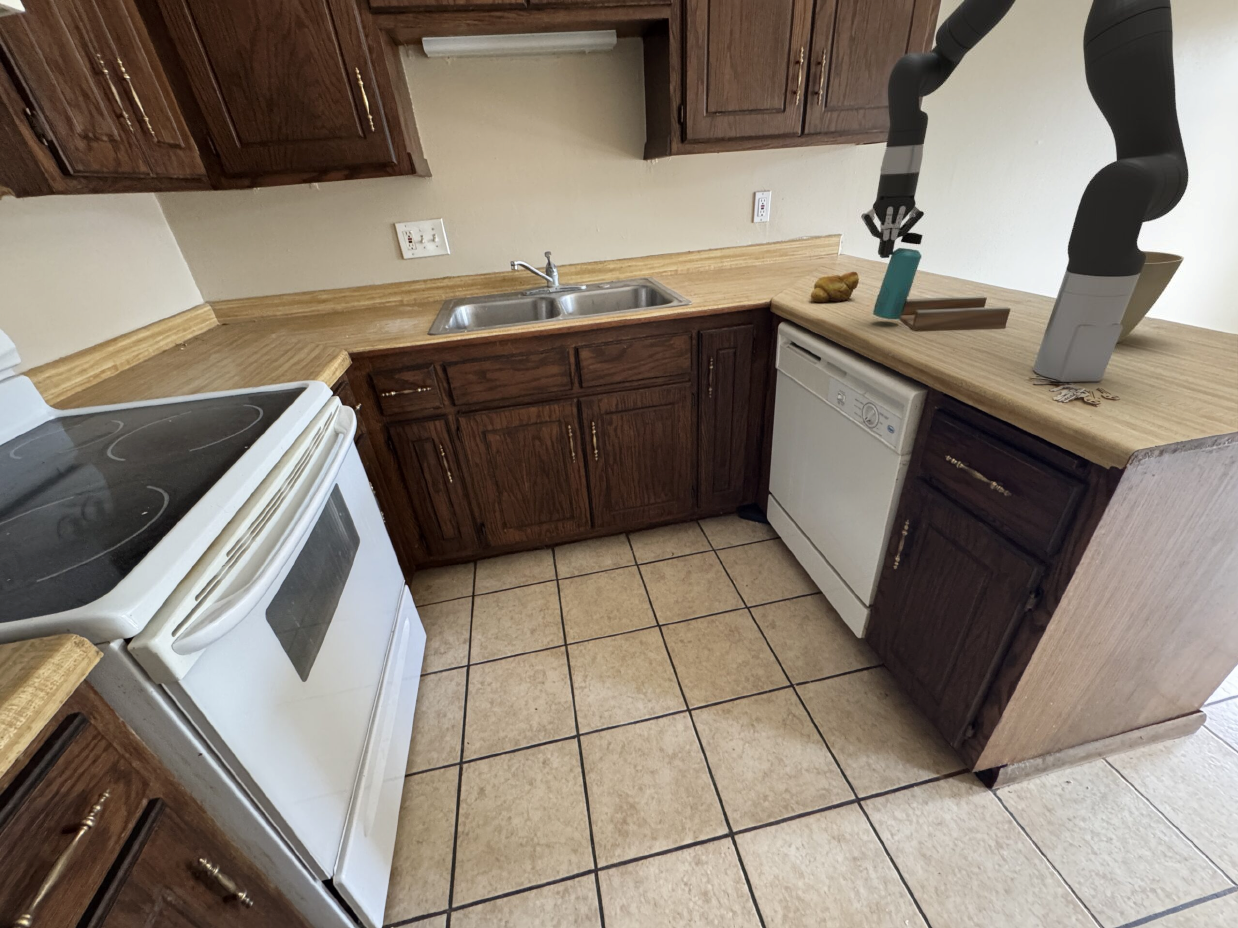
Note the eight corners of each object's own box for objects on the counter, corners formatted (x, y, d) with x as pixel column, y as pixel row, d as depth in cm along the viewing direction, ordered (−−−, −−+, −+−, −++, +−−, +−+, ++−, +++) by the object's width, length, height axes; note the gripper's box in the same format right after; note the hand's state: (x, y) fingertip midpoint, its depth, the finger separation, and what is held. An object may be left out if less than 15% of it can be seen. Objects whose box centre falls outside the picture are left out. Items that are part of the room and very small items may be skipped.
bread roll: (817, 306, 147) (820, 276, 143) (800, 299, 155) (803, 271, 151) (859, 301, 148) (864, 271, 144) (840, 294, 157) (844, 266, 153)
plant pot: (1063, 325, 116) (1090, 248, 108) (1153, 336, 106) (1190, 252, 98) (1042, 340, 108) (1070, 259, 100) (1138, 354, 98) (1176, 265, 90)
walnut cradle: (1005, 328, 117) (1010, 308, 115) (914, 330, 120) (918, 312, 118) (978, 314, 128) (983, 296, 126) (896, 316, 131) (899, 299, 129)
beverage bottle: (901, 327, 123) (934, 236, 113) (872, 323, 124) (902, 232, 114) (894, 321, 128) (925, 233, 119) (866, 317, 129) (895, 230, 119)
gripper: (872, 173, 108) (858, 261, 117) (940, 169, 107) (921, 258, 115) (862, 173, 115) (849, 256, 123) (926, 168, 113) (909, 253, 122)
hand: (884, 257), depth 119 cm, fingers closed
